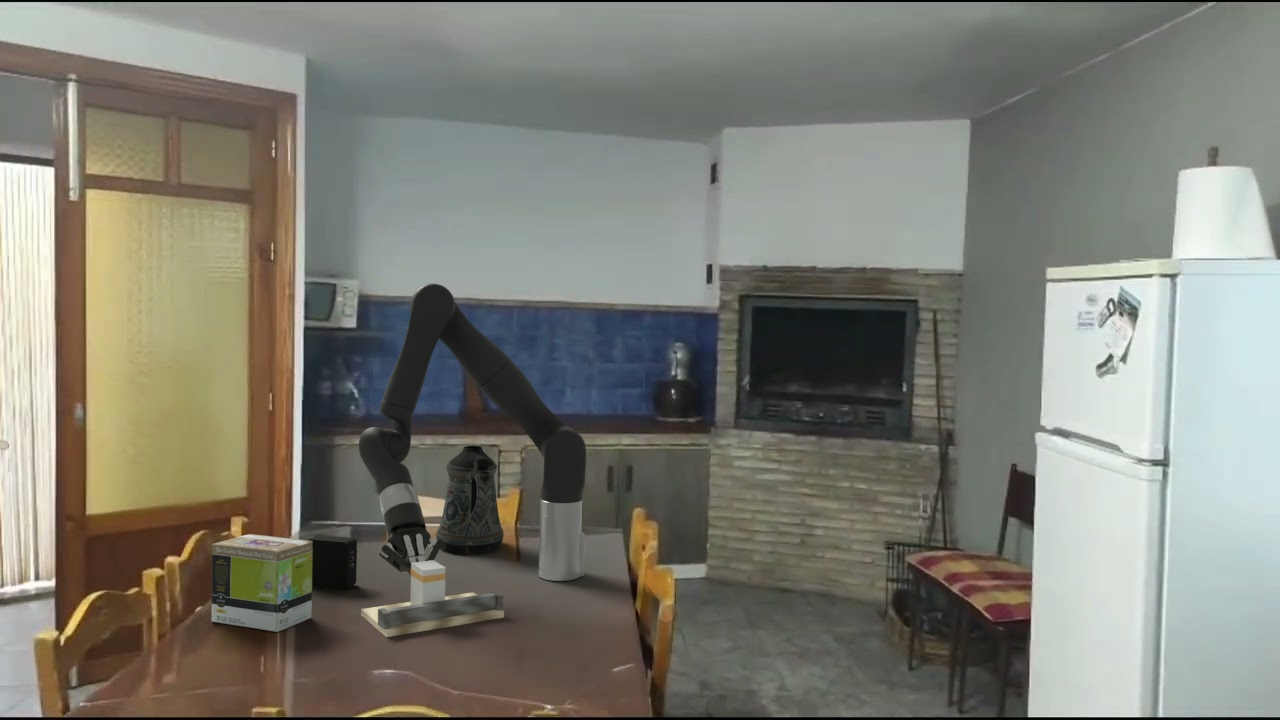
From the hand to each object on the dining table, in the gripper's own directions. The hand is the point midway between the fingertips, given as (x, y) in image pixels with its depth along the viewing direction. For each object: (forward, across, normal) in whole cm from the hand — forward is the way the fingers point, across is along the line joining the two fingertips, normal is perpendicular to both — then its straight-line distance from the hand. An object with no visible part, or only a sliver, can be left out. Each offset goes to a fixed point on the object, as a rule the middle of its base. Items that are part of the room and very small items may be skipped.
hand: (422, 587), depth 180 cm
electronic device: (-14, -10, +22) cm, 28 cm away
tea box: (-3, -27, +11) cm, 29 cm away
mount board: (+6, +1, +1) cm, 6 cm away
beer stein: (-26, +30, +34) cm, 52 cm away
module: (+5, 0, 0) cm, 5 cm away
